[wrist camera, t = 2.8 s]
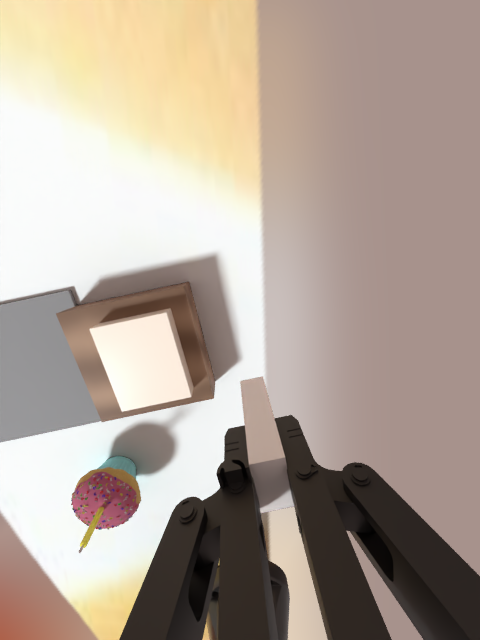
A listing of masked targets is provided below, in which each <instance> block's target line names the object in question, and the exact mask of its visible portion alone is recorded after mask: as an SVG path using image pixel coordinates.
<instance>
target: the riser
mask: <svg viewBox="0 0 480 640" xmlns="http://www.w3.org/2000/svg"><path fill="white" fill-rule="evenodd" d="M169 308H171V311H172V315H173V318H174V322H175V325H176V329H177V332H178V336H179V339H180V342H181V346H182V349H183V353H184V356H185V360H186V363H187V366H188V370H189V373H190V377H191V380H192V384H193V387H194V388H193V393H192V397H189V398H185V399H180V400H175V401H170V402H166V403H161V404H156V405H152V406H147V407H142V408H137V409H133V410H128V411H123V412H122V411H121V408H120V406H119V403H118V401H117V398H116V396H115V393H114V391H113V388H112V385H111V383H110V380H109V378H108V375H107V373H106V370H105V368H104V365H103V363H102V360H101V358H100V355H99V353H98V350H97V347H96V345H95V342H94V340H93V337H92V335H91V332H90V330H89V329H90V328H92V327H94V326H95V325H97V324H99V323H103V322H108V321H113V320H117V319H122V318H127V317H131V316H136V315H141V314H145V313H150V312H155V311H159V310H164V309H169ZM56 316H57V318H58V320H59V323H60V325H61V327H62V330H63V332H64V334H65V337H66V339H67V341H68V344H69V346H70V348H71V351H72V353H73V356H74V358H75V360H76V363H77V365H78V367H79V370H80V372H81V374H82V377H83V379H84V381H85V384H86V386H87V388H88V391H89V393H90V395H91V398H92V400H93V402H94V405H95V407H96V409H97V412H98V414H99V416H100V419H101V421H102V422H105V421H109V420H114V419H119V418H123V417H128V416H133V415H138V414H142V413H147V412H152V411H157V410H161V409H166V408H171V407H176V406H180V405H185V404H190V403H194V402H199V401H204V400H209V399H213V398H214V390H215V379H214V375H213V372H212V368H211V364H210V360H209V356H208V353H207V349H206V345H205V341H204V337H203V333H202V330H201V326H200V322H199V318H198V314H197V310H196V307H195V303H194V299H193V295H192V291H191V288H190V284H189V282H185V283H181V284H176V285H171V286H167V287H162V288H157V289H153V290H148V291H143V292H138V293H134V294H129V295H124V296H120V297H115V298H110V299H106V300H101V301H96V302H92V303H87V304H82V305H78V306H75V307H72V308H69V309H67V310H64V311H61V312H59V313H56Z"/></svg>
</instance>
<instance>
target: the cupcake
mask: <svg viewBox="0 0 480 640" xmlns="http://www.w3.org/2000/svg"><path fill="white" fill-rule="evenodd" d="M71 501H72V504H71V505H73V510H74V512H75V514H76V516H77V517H78V519H79V520H81V521H82V522H83V523H85V524H87V526H89V528H88V530H87V532H86V534H85V536H84V538H83V540H82V542H81V544H80V547H81V548H80V550H79V553H80V552H81V551H82V549H83V548H85V547H86V546H87V544H88V542H89V540H90V537H91V535H92V533H93V531H94V529H95V528H96V529H99V530H100V529H103V528H107V529H109V528H111V527H112V528H113V527H115V526H116V527H117V526H119V525H120V524H124V523H125V522H127V520H128V519H129V518H131V517H132V515H133V514H134V513H135V511H137V508H138V506H139V503H140V501H141V496H140V490H139V486H138V483H137V481H136V466H135V464H134V463H133V461H131V460H130V459H128V458H126V457H123V456H115V457H112V458H110V459H108V460H107V461H106V462H105V463H104V464H103V465H102V466H100V467H99V468H98V469H96V470H92V471H90V472H88V473H87V474H86V475H84V476H83V477H82V478H81V479H80V480H79V482H78V484H77V486H76V488H75V492H74V493H73V494H72V500H71Z"/></svg>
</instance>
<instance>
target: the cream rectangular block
mask: <svg viewBox="0 0 480 640" xmlns="http://www.w3.org/2000/svg"><path fill="white" fill-rule="evenodd" d="M89 330H90V332H91V335H92V337H93V340H94V342H95V345H96V347H97V350H98V353H99V355H100V358H101V360H102V363H103V365H104V368H105V370H106V373H107V375H108V378H109V380H110V383H111V385H112V388H113V391H114V393H115V396H116V398H117V401H118V403H119V406H120V408H121V411H122V412H123V411H128V410H133V409H137V408H142V407H147V406H152V405H156V404H161V403H166V402H170V401H175V400H180V399H185V398H189V397H192V393H193V388H194V387H193V384H192V380H191V377H190V373H189V370H188V366H187V363H186V360H185V356H184V353H183V349H182V346H181V342H180V339H179V336H178V332H177V329H176V325H175V322H174V318H173V315H172V311H171V308H169V309H164V310H159V311H155V312H150V313H145V314H141V315H136V316H131V317H127V318H122V319H117V320H113V321H108V322H103V323H99V324H97V325H95V326H94V327H92V328H90V329H89Z"/></svg>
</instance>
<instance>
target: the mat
mask: <svg viewBox="0 0 480 640" xmlns="http://www.w3.org/2000/svg"><path fill="white" fill-rule="evenodd" d="M75 306H77V304H76V302H75V299H74V297H73V294H72V292H71V290H67V291H62V292H57V293H53V294H48V295H43V296H39V297H34V298H29V299H25V300H20V301H15V302H11V303H6V304H1V305H0V442H4V441H9V440H14V439H19V438H23V437H28V436H33V435H38V434H42V433H47V432H52V431H56V430H61V429H66V428H71V427H75V426H80V425H85V424H90V423H94V422H99V421H101V419H100V416H99V414H98V412H97V409H96V407H95V405H94V402H93V400H92V398H91V395H90V393H89V391H88V388H87V386H86V384H85V381H84V379H83V377H82V374H81V372H80V370H79V367H78V365H77V363H76V360H75V358H74V356H73V353H72V351H71V348H70V346H69V344H68V341H67V339H66V337H65V334H64V332H63V330H62V327H61V325H60V323H59V320H58V318H57V316H56V313H59V312H61V311H64V310H67V309H69V308H72V307H75Z"/></svg>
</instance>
